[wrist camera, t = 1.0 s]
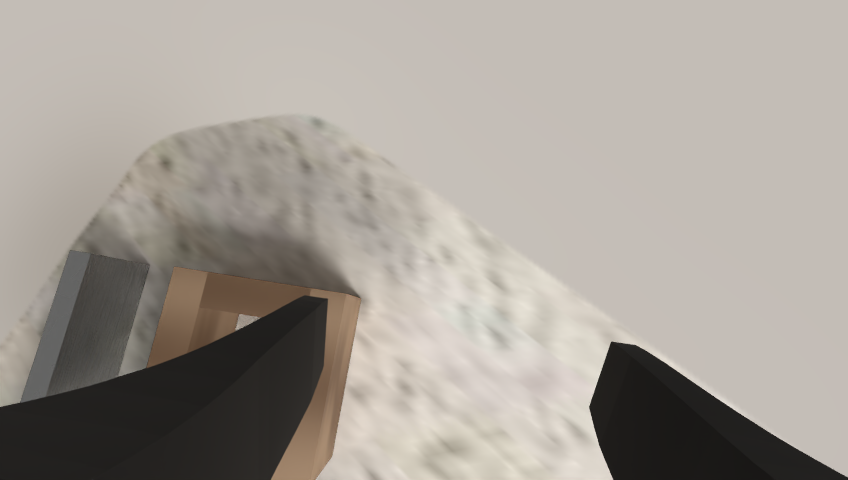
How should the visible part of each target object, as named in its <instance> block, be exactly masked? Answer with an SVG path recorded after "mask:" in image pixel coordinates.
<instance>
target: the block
mask: <svg viewBox="0 0 848 480" xmlns="http://www.w3.org/2000/svg"><path fill="white" fill-rule="evenodd" d="M304 295H307V296H314V297H320V298H327V299H328V309H327V324H326V340H325V355H324V367H323V370H322V373H321V376H320V378H319V381H318V384H317V387H316V389H315V392H314V395H313V397H312V400H311V402H310V404H309V406H308V408H307V410H306V412H305V414H304V416H303V418H302V420H301V422H300V424H299V426H298V428H297V430H296V432H295V434H294V436H293V438H292V440H291V442H290V444H289V446H288V447H287V449H286V451H285V453H284V455H283V457H282V459H281V461H280V463H279V465H278V467H277V469H276V471H275V473H274V475H273V476H272V478H271V480H315V479H316V478H317V476H318V475H319V474H320V472H321V471H322V470H323V468H324V467H325V465H326V464H327V463H328V461H329V460H330V459H331V457H332V454H333V449H334V443H335V438H336V433H337V427H338V422H339V416H340V411H341V405H342V400H343V395H344V389H345V384H346V378H347V373H348V368H349V362H350V357H351V351H352V346H353V340H354V335H355V330H356V324H357V319H358V313H359V308H360V302H361V298H358V297H355V296H352V295H349V294H345V293H338V292H332V291H326V290H319V289H313V288H307V287H300V286H294V285H288V284H281V283H275V282H269V281H262V280H256V279H250V278H244V277H237V276H231V275H225V274H218V273H212V272H206V271H199V270H193V269H187V268H180V267H174V269H173V273H172V276H171V280H170V284H169V287H168V291H167V295H166V298H165V302H164V305H163V309H162V313H161V316H160V320H159V324H158V327H157V331H156V335H155V338H154V342H153V345H152V349H151V353H150V356H149V360H148V364H147V367H146V368H149V367H152V366H154V365H157V364H160V363H163V362H165V361H168V360H171V359H173V358H176V357H179V356H181V355H184V354H186V353H189V352H191V351H194V350H196V349H198V348H201V347H203V346H205V345H208V344H210V343H212V342H214V341H216V340H218V339H220V338H222V337H224V336H226V335H229V334H231V333H233V332H235V328H236V324H237V320H238V316H239V314H244V315H250V316H256V317H264V316H266V315H268V314H270V313H272V312H273V311H275V310H277V309H279V308H281V307H282V306H284V305H286V304H288V303H290V302H292V301H293V300H295V299H297V298H299V297H302V296H304Z"/></svg>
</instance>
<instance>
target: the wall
mask: <svg viewBox="0 0 848 480" xmlns="http://www.w3.org/2000/svg"><path fill="white" fill-rule="evenodd" d="M148 268H149V265H147V264H142V263H137V262H132V261H127V260H122V259H117V258H112V257H107V256H102V255H96V254H91V253H85V252H79V251H73V250H70V252H69V255H68V258H67V261H66V264H65V267H64V270H63V273H62V276H61V279H60V282H59V285H58V288H57V291H56V295H55V298H54V301H53V304H52V307H51V310H50V313H49V316H48V319H47V322H46V325H45V328H44V331H43V334H42V337H41V340H40V343H39V346H38V350H37V353H36V356H35V359H34V362H33V365H32V368H31V371H30V374H29V377H28V380H27V383H26V386H25V389H24V392H23V395H22V398H21V402H26V401H30V400H34V399H39V398H43V397H47V396H51V395H56V394H60V393H63V392H67V391H71V390H75V389H79V388H83V387H87V386H90V385H94V384H97V383H100V382H104V381H107V380H110V379H113V378H117V376H118V373H119V369H120V366H121V362H122V359H123V355H124V352H125V348H126V345H127V341H128V338H129V334H130V331H131V327H132V324H133V320H134V317H135V313H136V310H137V306H138V303H139V299H140V296H141V292H142V289H143V286H144V282H145V279H146V275H147V272H148ZM21 402H20V403H21Z"/></svg>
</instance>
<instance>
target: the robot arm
mask: <svg viewBox="0 0 848 480" xmlns="http://www.w3.org/2000/svg"><path fill="white" fill-rule="evenodd" d="M327 309H328V299H327V298H320V297H314V296H307V295H304V296H302V297H299V298H297V299H295V300H293V301H292V302H290V303H288V304H286V305H284V306H282V307H281V308H279V309H277V310H275V311H273V312H272V313H270V314H268V315H266V316H264V317H262V318H260V319H258V320H257V321H255V322H253V323H251V324H249V325H247V326H245V327H243V328H241V329H239V330H237V331H235V332H233V333H231V334H229V335H226V336H224V337H222V338H220V339H218V340H216V341H214V342H212V343H210V344H208V345H205V346H203V347H201V348H198V349H196V350H194V351H191V352H189V353H186V354H184V355H181V356H179V357H176V358H173V359H171V360H168V361H165V362H163V363H160V364H157V365H154V366H152V367H149V368H146V369H142V370H139V371H136V372H133V373H129V374H126V375H123V376H120V377H117V378H113V379H110V380H107V381H104V382H100V383H97V384H94V385H90V386H87V387H83V388H79V389H75V390H71V391H67V392H63V393H60V394H56V395H51V396H47V397H43V398H39V399H34V400H30V401H26V402H21V403H17V404H12V405H8V406H3V407H0V480H271V478H272V476H273V475H274V473H275V471H276V469H277V467H278V465H279V463H280V461H281V459H282V457H283V455H284V453H285V451H286V449H287V447H288V446H289V444H290V442H291V440H292V438H293V436H294V434H295V432H296V430H297V428H298V426H299V424H300V422H301V420H302V418H303V416H304V414H305V412H306V410H307V408H308V406H309V404H310V402H311V400H312V397H313V395H314V392H315V389H316V387H317V384H318V381H319V378H320V376H321V373H322V370H323V367H324V355H325V340H326V324H327ZM589 408H590V412H591V416H592V420H593V424H594V428H595V432H596V435H597V439H598V442H599V446H600V448H601V451H602V453H603V456H604V458H605V461H606V463H607V466H608V468H609V470H610V473H611V475H612V478H613V480H848V477H846V476H844V475H842V474H840V473H838V472H836V471H835V470H833V469H831V468H830V467H828V466H826V465H824V464H822V463H821V462H819V461H817V460H815V459H814V458H812V457H810V456H808V455H806V454H805V453H803V452H801V451H799V450H798V449H796V448H794V447H792V446H791V445H789V444H787V443H786V442H784V441H782V440H781V439H779V438H777V437H776V436H774V435H773V434H771V433H769V432H768V431H766V430H765V429H763V428H761V427H760V426H758V425H757V424H755V423H754V422H752V421H750V420H749V419H747V418H746V417H744V416H742V415H741V414H739V413H738V412H736V411H735V410H733V409H732V408H730V407H729V406H727V405H726V404H724V403H723V402H721V401H720V400H718V399H717V398H715V397H714V396H712V395H711V394H709V393H708V392H707V391H705V390H704V389H702V388H701V387H699V386H698V385H696V384H695V383H693V382H692V381H690V380H689V379H688V378H686V377H685V376H683V375H682V374H680V373H679V372H677V371H676V370H674V369H673V368H672V367H670V366H669V365H667V364H666V363H664V362H663V361H661V360H660V359H658V358H657V357H655V356H653V355H652V354H650V353H649V352H647V351H645V350H644V349H642V348H640V347H638V346H636V345H631V344H624V343H617V342H611V344H610V347H609V350H608V353H607V356H606V359H605V362H604V365H603V368H602V371H601V374H600V376H599V379H598V382H597V385H596V388H595V391H594V394H593V397H592V400H591V403H590V406H589Z"/></svg>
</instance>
